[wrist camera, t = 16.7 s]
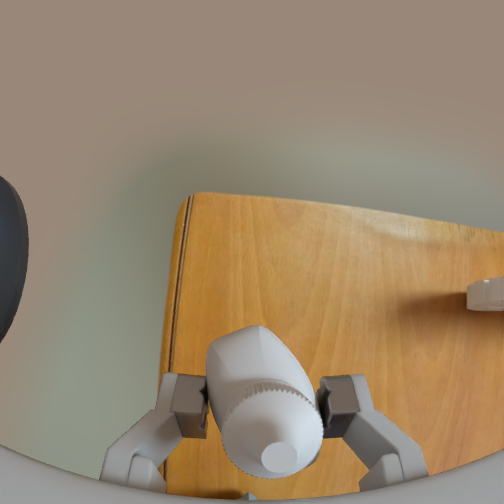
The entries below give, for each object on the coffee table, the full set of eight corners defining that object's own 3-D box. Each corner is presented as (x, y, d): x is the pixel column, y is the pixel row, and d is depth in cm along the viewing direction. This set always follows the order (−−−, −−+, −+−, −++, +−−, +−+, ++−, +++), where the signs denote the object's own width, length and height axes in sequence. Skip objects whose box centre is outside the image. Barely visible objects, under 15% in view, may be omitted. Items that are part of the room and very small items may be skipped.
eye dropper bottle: (211, 421, 16) (160, 542, 5) (223, 324, 18) (182, 302, 6) (289, 429, 16) (354, 553, 5) (302, 333, 18) (402, 325, 6)
